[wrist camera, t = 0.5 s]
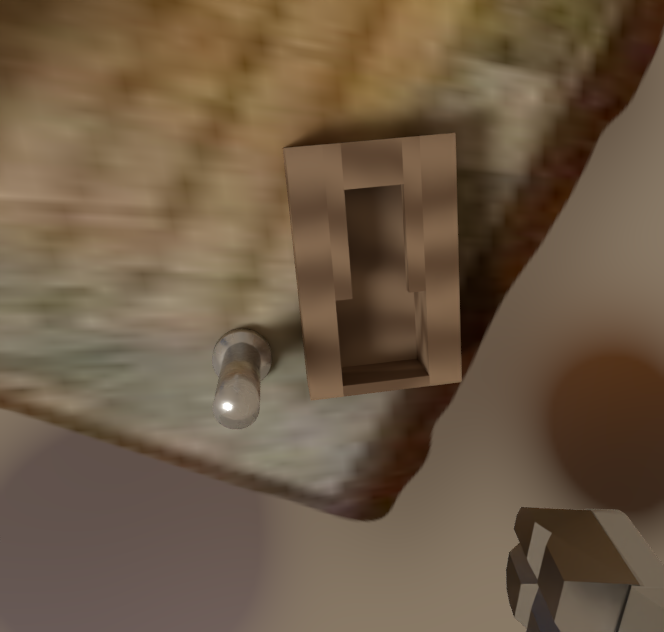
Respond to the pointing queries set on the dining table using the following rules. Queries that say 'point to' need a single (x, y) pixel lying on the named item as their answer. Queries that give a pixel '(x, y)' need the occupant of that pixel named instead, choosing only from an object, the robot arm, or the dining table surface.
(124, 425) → the dining table surface
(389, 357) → the wooden compartment tray
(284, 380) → the dining table surface
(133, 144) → the dining table surface
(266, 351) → the steel peg
